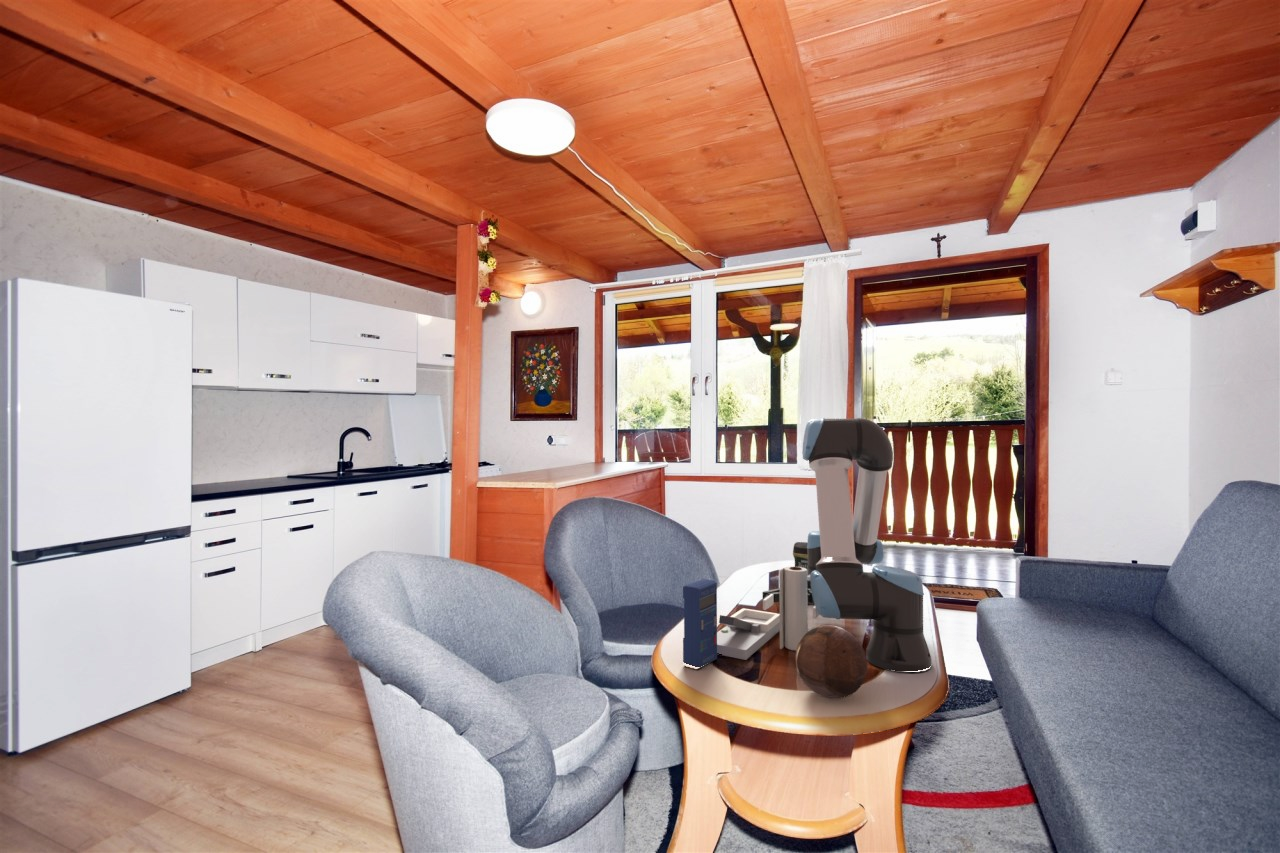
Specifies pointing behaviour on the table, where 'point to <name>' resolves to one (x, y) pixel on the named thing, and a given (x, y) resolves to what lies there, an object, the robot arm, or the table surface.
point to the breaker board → (747, 633)
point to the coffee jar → (800, 554)
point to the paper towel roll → (793, 606)
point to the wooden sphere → (831, 661)
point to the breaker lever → (735, 623)
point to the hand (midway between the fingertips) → (788, 609)
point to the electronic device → (700, 622)
